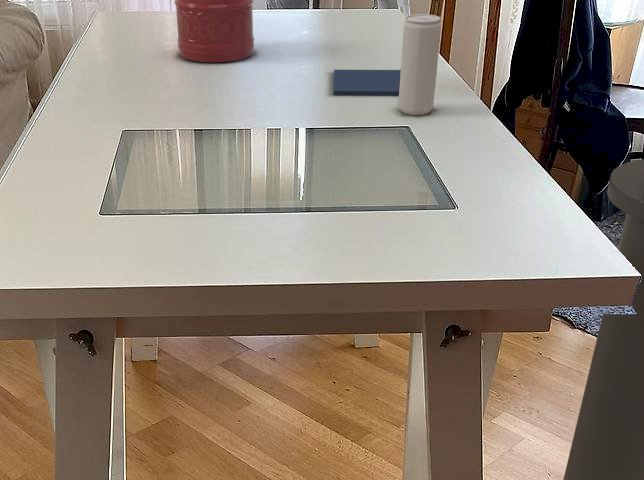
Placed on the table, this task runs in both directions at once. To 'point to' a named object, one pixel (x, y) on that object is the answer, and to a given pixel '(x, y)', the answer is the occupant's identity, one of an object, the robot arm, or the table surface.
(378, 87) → the drinks mat
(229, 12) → the kitchen canister
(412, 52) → the beverage can
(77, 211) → the table surface
